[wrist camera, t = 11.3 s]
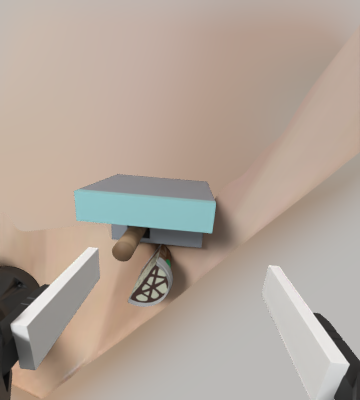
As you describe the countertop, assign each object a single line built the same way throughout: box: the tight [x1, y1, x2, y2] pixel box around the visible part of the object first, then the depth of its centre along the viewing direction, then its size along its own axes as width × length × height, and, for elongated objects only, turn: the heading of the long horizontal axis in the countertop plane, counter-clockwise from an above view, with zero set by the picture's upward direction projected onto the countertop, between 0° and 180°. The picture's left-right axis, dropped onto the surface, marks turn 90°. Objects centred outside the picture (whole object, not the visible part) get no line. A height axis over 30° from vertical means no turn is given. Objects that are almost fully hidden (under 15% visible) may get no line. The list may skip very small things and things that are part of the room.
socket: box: [74, 174, 216, 248], centre depth 36 cm, size 20×14×16 cm
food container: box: [128, 244, 173, 307], centre depth 43 cm, size 12×6×10 cm, turn 146°
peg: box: [112, 226, 147, 261], centre depth 38 cm, size 3×3×14 cm
